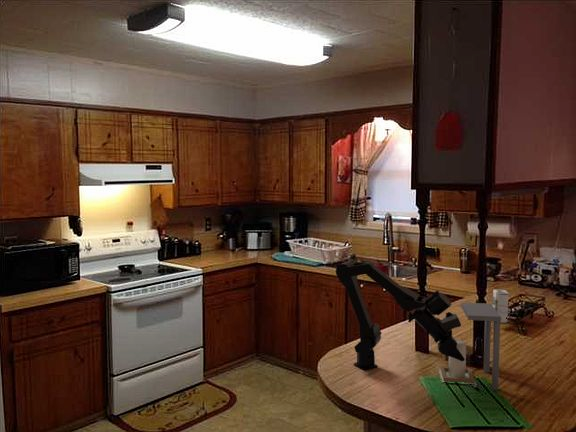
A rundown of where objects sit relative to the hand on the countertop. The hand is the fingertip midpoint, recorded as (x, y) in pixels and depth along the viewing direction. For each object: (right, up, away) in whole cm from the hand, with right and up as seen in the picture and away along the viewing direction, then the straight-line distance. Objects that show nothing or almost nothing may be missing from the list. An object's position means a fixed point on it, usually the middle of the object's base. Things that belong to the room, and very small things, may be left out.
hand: (461, 355), depth 176 cm
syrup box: (+40, -2, +65) cm, 76 cm away
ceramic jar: (-1, -7, +1) cm, 8 cm away
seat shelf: (+2, -8, 0) cm, 8 cm away
